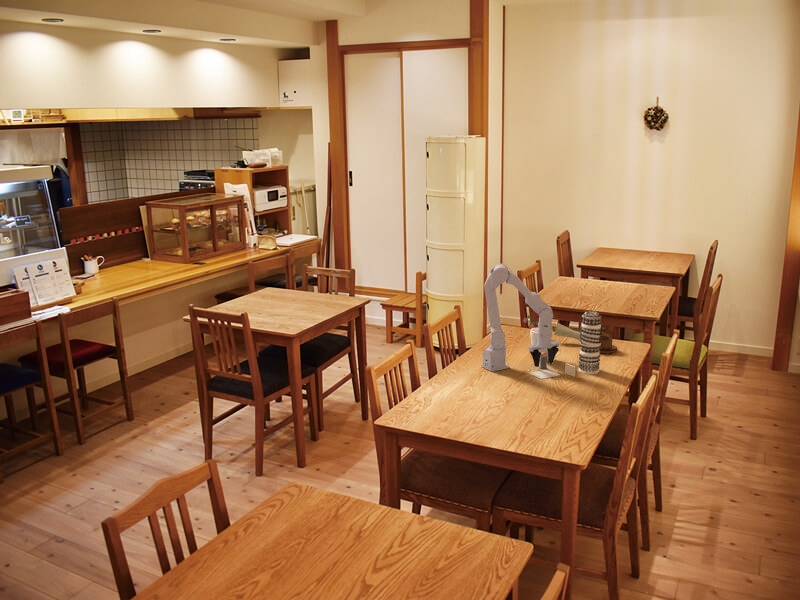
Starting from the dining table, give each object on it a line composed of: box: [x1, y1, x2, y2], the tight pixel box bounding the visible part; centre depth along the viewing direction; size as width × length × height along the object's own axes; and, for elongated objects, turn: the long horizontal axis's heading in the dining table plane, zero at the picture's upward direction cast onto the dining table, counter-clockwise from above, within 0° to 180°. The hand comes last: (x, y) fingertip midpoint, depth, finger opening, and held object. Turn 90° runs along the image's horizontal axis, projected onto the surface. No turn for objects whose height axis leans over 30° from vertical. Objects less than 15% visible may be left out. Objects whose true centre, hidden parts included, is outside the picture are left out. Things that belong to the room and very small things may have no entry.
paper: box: [528, 368, 561, 380], centre depth 294 cm, size 10×8×1 cm
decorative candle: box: [578, 310, 603, 375], centre depth 295 cm, size 9×9×25 cm
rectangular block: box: [564, 362, 576, 377], centre depth 293 cm, size 5×1×4 cm, turn 27°
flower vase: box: [522, 312, 582, 341], centre depth 336 cm, size 12×12×35 cm
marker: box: [539, 352, 548, 370], centre depth 300 cm, size 3×3×7 cm
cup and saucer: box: [599, 335, 618, 354], centre depth 322 cm, size 12×12×6 cm
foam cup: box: [529, 327, 548, 362], centre depth 312 cm, size 10×9×13 cm
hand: (543, 365), depth 300 cm, fingers open, 7 cm apart
